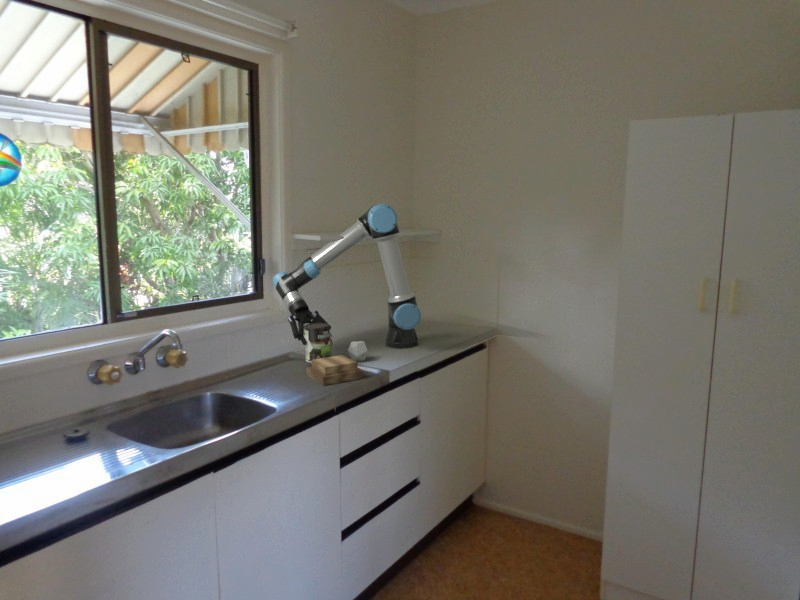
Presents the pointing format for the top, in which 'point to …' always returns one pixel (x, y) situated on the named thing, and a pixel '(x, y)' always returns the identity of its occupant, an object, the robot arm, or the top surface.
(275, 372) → the top surface
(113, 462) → the top surface
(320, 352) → the coffee can
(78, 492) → the top surface
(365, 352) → the die
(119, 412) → the top surface
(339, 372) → the tower base
